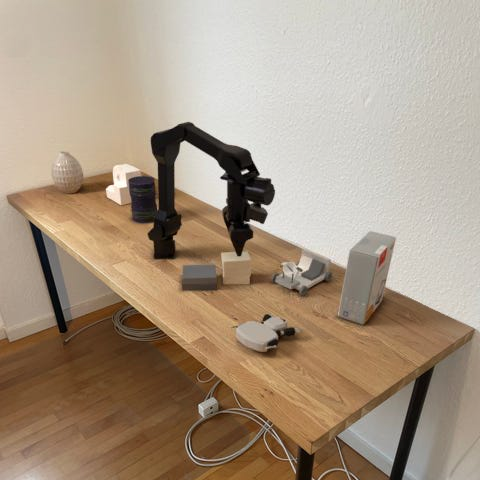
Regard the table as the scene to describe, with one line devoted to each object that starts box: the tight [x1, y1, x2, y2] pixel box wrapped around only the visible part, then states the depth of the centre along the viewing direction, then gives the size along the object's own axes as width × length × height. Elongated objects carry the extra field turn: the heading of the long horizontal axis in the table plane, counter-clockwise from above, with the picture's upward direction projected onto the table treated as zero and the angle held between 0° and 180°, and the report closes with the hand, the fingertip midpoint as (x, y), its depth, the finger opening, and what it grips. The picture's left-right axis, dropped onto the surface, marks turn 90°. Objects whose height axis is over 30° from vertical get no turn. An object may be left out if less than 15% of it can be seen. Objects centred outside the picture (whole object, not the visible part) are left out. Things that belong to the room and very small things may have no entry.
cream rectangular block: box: [220, 250, 252, 269], centre depth 143 cm, size 8×6×3 cm
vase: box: [50, 150, 84, 194], centre depth 206 cm, size 13×13×17 cm
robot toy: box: [228, 313, 301, 353], centre depth 119 cm, size 12×4×15 cm
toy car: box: [270, 248, 333, 297], centre depth 142 cm, size 18×10×12 cm
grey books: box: [181, 264, 218, 291], centre depth 143 cm, size 10×9×4 cm
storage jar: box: [128, 175, 158, 224], centre depth 181 cm, size 10×10×15 cm
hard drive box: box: [337, 230, 397, 326], centre depth 128 cm, size 16×8×20 cm, turn 148°
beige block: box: [221, 264, 252, 285], centre depth 145 cm, size 8×6×5 cm
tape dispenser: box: [105, 163, 142, 206], centre depth 201 cm, size 16×10×13 cm, turn 41°
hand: (236, 249), depth 141 cm, fingers open, 9 cm apart
